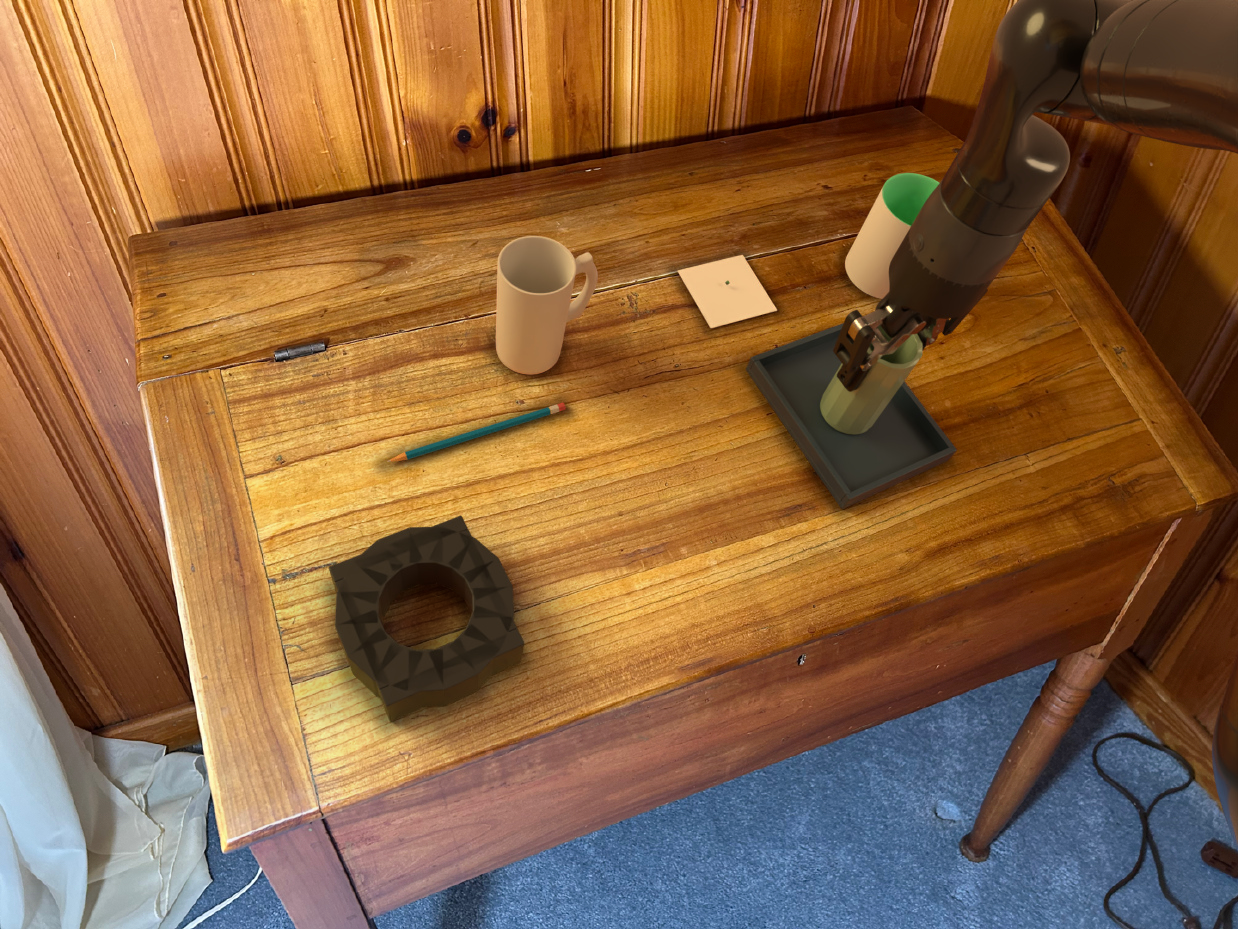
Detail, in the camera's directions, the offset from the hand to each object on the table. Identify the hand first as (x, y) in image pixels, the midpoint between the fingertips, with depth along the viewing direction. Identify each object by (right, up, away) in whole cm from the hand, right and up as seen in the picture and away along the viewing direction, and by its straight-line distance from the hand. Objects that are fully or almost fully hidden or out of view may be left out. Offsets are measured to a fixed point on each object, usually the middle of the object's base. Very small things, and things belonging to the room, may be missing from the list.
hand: (873, 372), depth 85 cm
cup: (-1, -3, +6) cm, 7 cm away
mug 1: (-31, +3, +5) cm, 31 cm away
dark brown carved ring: (-39, -21, -11) cm, 46 cm away
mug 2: (+7, +13, +18) cm, 23 cm away
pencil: (-36, -6, -1) cm, 37 cm away
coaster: (-12, +10, +12) cm, 20 cm away
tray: (-1, -4, +6) cm, 7 cm away
